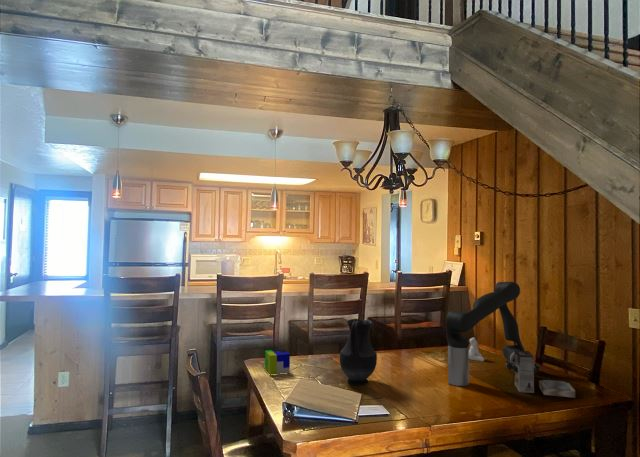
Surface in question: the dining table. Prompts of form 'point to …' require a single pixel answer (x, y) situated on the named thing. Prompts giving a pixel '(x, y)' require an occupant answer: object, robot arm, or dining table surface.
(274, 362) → the puzzle toy
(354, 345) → the pitcher
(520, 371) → the coffee box
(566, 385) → the plinth
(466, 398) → the dining table surface
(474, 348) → the seated beast figurine
